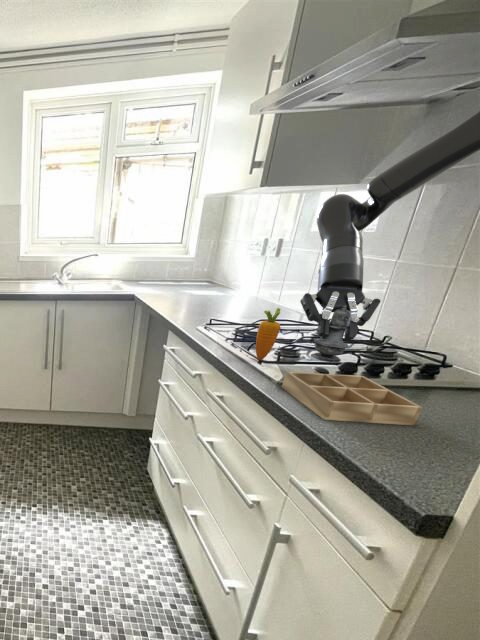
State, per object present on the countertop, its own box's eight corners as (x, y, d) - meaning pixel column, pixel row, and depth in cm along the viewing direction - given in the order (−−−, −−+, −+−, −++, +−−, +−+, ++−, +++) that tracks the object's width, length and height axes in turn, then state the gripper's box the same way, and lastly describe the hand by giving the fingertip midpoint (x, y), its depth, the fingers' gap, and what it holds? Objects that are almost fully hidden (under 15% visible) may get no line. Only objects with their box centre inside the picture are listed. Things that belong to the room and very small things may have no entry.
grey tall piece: (316, 361, 91) (337, 307, 86) (304, 352, 96) (322, 301, 91) (348, 363, 90) (370, 309, 85) (333, 354, 95) (353, 302, 90)
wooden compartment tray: (356, 391, 99) (363, 375, 97) (413, 425, 84) (423, 407, 82) (281, 387, 101) (286, 371, 99) (324, 419, 86) (331, 402, 84)
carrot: (253, 363, 116) (269, 310, 110) (246, 357, 120) (261, 305, 114) (273, 364, 115) (290, 311, 109) (264, 358, 120) (280, 306, 114)
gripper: (308, 259, 93) (303, 325, 88) (390, 263, 88) (389, 334, 83) (296, 279, 100) (290, 342, 95) (371, 284, 94) (369, 351, 89)
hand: (336, 338), depth 89 cm, fingers closed on grey tall piece, 3 cm apart
